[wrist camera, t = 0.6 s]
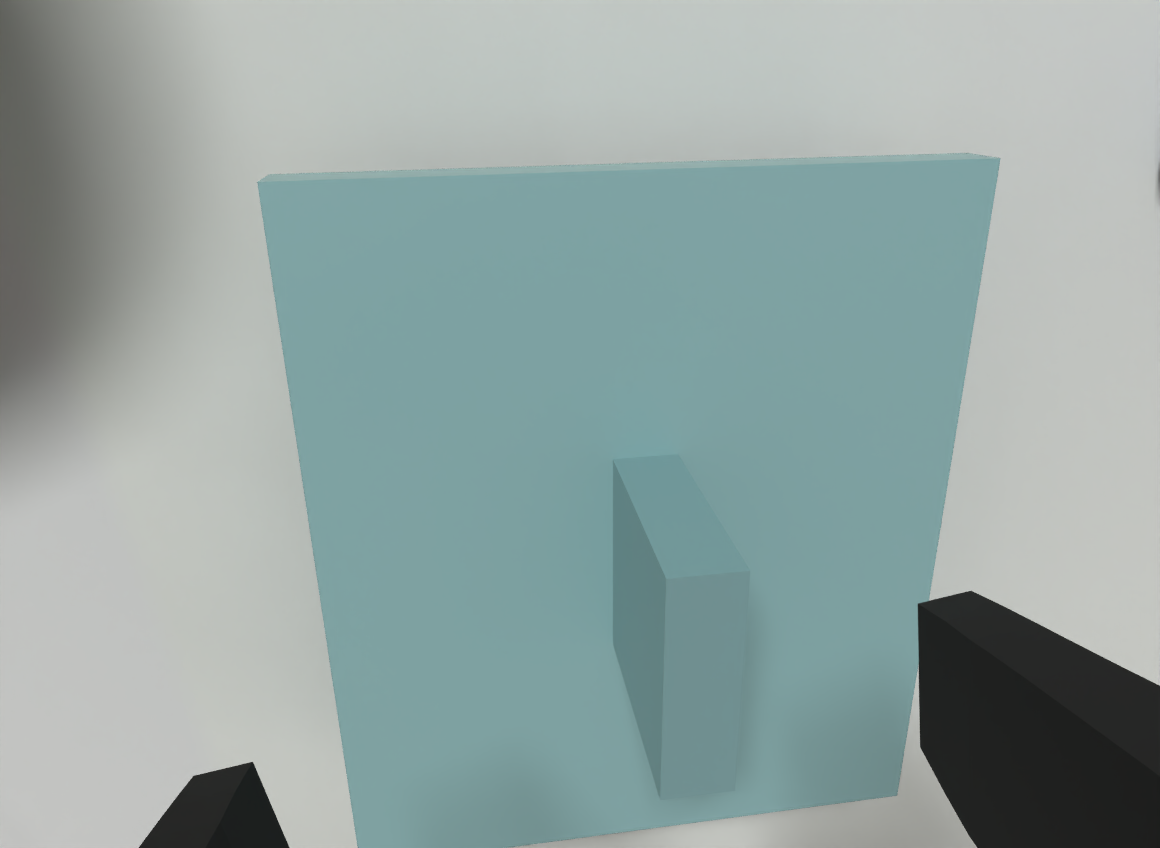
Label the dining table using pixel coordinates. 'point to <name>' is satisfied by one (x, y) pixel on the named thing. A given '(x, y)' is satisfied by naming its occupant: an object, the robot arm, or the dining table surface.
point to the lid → (624, 478)
